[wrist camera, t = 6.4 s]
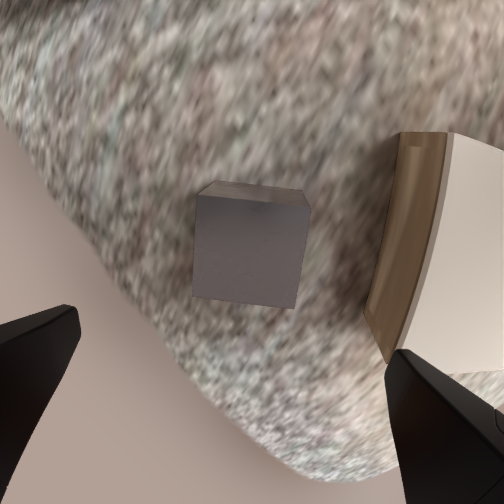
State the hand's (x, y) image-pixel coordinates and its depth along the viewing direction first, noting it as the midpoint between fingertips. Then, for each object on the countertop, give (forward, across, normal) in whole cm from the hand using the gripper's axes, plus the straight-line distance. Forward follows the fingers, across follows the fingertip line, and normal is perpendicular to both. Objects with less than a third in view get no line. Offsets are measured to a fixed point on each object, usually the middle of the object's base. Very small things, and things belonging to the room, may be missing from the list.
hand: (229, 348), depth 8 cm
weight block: (+12, 0, 0) cm, 12 cm away
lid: (+6, -15, -1) cm, 16 cm away
